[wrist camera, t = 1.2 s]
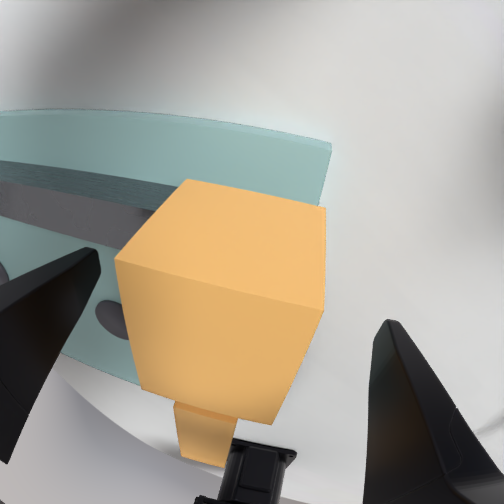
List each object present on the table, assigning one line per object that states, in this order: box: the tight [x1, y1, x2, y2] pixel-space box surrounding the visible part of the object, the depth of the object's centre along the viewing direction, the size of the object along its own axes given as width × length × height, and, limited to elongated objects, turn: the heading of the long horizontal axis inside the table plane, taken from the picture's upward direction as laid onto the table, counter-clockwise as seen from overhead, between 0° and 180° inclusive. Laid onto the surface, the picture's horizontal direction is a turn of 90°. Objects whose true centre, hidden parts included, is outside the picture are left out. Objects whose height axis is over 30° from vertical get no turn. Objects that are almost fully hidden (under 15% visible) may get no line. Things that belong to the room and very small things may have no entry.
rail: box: [0, 160, 178, 250], centre depth 12 cm, size 2×22×2 cm, turn 82°
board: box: [0, 109, 332, 386], centre depth 17 cm, size 19×23×1 cm
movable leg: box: [114, 179, 326, 468], centre depth 11 cm, size 11×4×6 cm, turn 173°
